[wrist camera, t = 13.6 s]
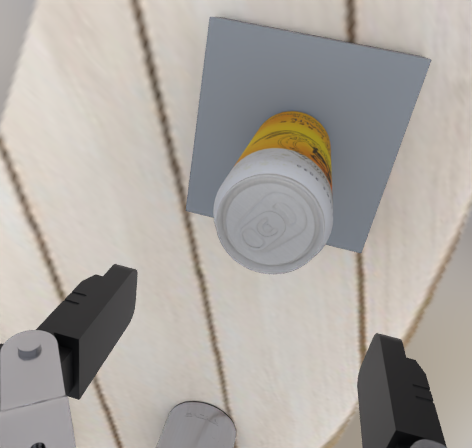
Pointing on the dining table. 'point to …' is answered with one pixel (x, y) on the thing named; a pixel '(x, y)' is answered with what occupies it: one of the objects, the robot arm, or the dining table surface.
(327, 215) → the beer can
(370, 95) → the stand
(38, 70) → the dining table surface
